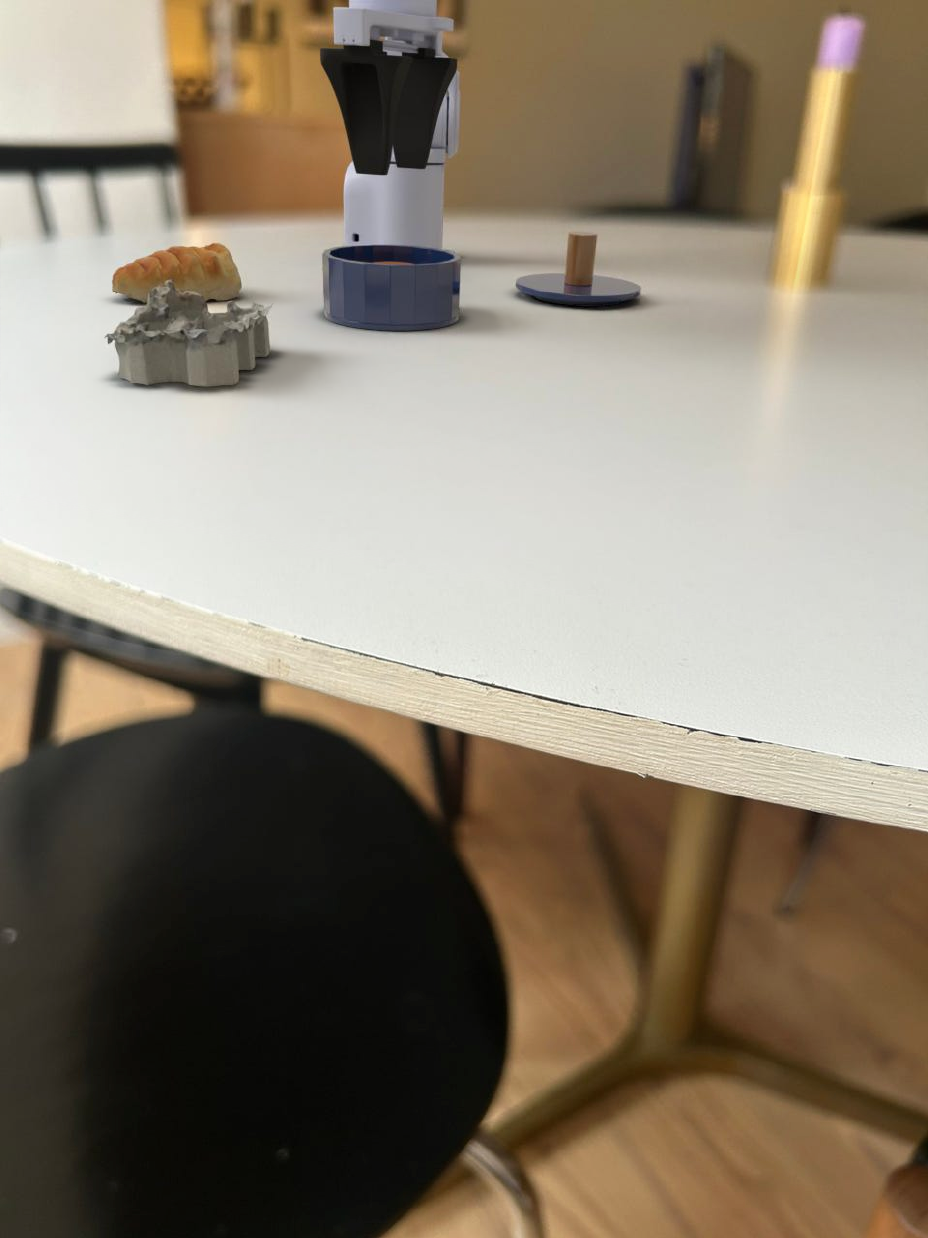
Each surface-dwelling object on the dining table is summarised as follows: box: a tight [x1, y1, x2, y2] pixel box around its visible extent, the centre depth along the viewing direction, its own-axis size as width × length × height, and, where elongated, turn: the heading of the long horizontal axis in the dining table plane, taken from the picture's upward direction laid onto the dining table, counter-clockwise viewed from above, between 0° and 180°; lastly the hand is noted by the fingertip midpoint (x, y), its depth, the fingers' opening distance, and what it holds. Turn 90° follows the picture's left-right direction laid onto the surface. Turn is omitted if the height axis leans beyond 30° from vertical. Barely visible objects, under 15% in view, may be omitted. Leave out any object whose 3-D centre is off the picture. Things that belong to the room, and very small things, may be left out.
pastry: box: [111, 242, 243, 304], centre depth 74 cm, size 9×7×4 cm
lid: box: [515, 231, 642, 307], centre depth 81 cm, size 11×11×5 cm
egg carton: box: [104, 279, 273, 388], centre depth 56 cm, size 11×8×4 cm
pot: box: [321, 244, 462, 332], centre depth 71 cm, size 10×10×4 cm
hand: (392, 171), depth 67 cm, fingers open, 7 cm apart
